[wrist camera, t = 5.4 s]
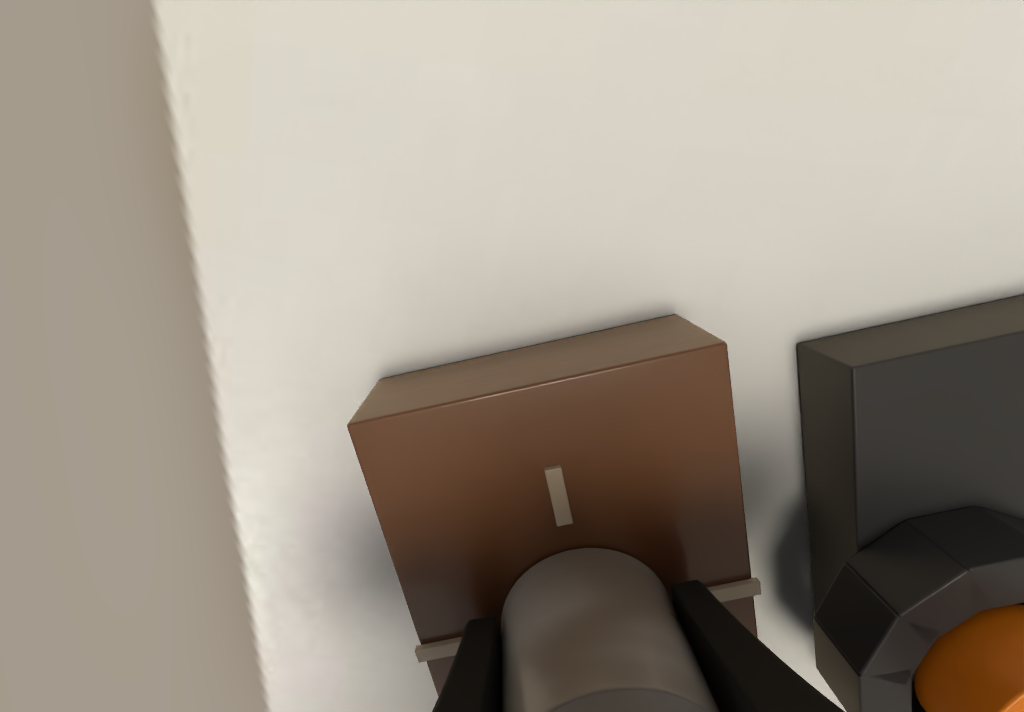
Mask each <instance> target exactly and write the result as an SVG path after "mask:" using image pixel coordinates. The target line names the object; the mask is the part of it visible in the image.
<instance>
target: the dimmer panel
mask: <svg viewBox="0 0 1024 712" xmlns="http://www.w3.org/2000/svg"><path fill="white" fill-rule="evenodd" d="M347 427H348V430H349V433H350V436H351V439H352V442H353V445H354V448H355V451H356V454H357V457H358V460H359V463H360V466H361V469H362V472H363V475H364V478H365V481H366V484H367V486H368V489H369V492H370V495H371V498H372V501H373V504H374V507H375V510H376V513H377V516H378V519H379V522H380V525H381V528H382V531H383V534H384V537H385V540H386V543H387V546H388V549H389V552H390V555H391V557H392V560H393V563H394V566H395V569H396V572H397V575H398V578H399V581H400V584H401V587H402V590H403V593H404V596H405V599H406V602H407V605H408V608H409V611H410V614H411V617H412V620H413V623H414V626H415V628H416V631H417V634H418V637H419V640H420V643H421V645H418V646H416V648H415V653H416V656H417V658H418V661H419V662H424V661H427V664H428V667H429V670H430V673H431V676H432V679H433V682H434V685H435V688H436V691H437V694H438V697H439V695H440V693H441V690H442V688H443V686H444V683H445V681H446V679H447V676H448V674H449V671H450V669H451V666H452V663H453V661H454V658H455V655H456V653H457V650H458V647H459V644H460V641H461V638H462V636H463V632H464V629H465V626H466V624H467V623H468V621H469V620H472V619H478V618H484V617H489V616H495V615H496V619H497V623H498V627H499V632H500V636H501V616H502V611H503V606H504V604H505V601H506V598H507V596H508V594H509V592H510V590H511V589H512V587H513V586H514V584H515V583H516V582H517V580H518V579H519V578H520V577H521V576H522V575H523V574H524V573H525V572H526V571H528V570H529V569H530V568H531V567H532V566H534V565H535V564H537V563H539V562H540V561H542V560H544V559H546V558H548V557H550V556H552V555H555V554H558V553H561V552H564V551H568V550H573V549H580V548H603V549H610V550H614V551H618V552H621V553H624V554H627V555H629V556H631V557H633V558H635V559H637V560H639V561H640V562H642V563H643V564H645V565H646V566H647V567H649V568H650V569H651V570H652V571H653V572H654V573H655V574H656V575H657V577H658V578H659V579H660V580H661V582H662V584H663V585H664V587H665V589H666V591H667V593H668V596H669V598H670V600H671V602H672V605H673V600H672V592H671V584H675V583H680V582H686V581H691V580H699V581H700V582H702V583H703V584H704V585H705V586H706V587H707V589H708V590H709V591H710V592H711V593H712V594H713V595H714V596H715V597H716V598H717V599H718V600H719V601H720V602H721V603H722V604H723V605H724V606H725V607H726V608H727V609H728V610H729V611H730V612H731V613H732V614H733V615H734V616H735V617H736V618H737V619H738V620H739V621H740V622H741V623H742V624H743V625H744V626H745V627H746V628H747V629H748V630H749V631H750V632H751V633H752V634H753V635H754V636H755V637H756V638H758V637H757V628H756V618H755V609H754V599H753V596H755V595H760V594H761V589H760V582H759V580H758V579H757V578H752V579H751V571H750V561H749V552H748V542H747V532H746V523H745V513H744V504H743V494H742V485H741V475H740V466H739V456H738V447H737V437H736V428H735V418H734V409H733V399H732V389H731V380H730V370H729V361H728V351H727V344H726V342H724V341H722V340H721V339H719V338H717V337H715V336H714V335H712V334H710V333H708V332H707V331H705V330H703V329H701V328H700V327H698V326H696V325H694V324H693V323H691V322H689V321H687V320H686V319H684V318H682V317H680V316H679V315H671V316H666V317H662V318H657V319H653V320H648V321H644V322H639V323H634V324H630V325H625V326H621V327H616V328H612V329H607V330H603V331H598V332H594V333H589V334H584V335H580V336H575V337H571V338H566V339H562V340H557V341H553V342H548V343H543V344H539V345H534V346H530V347H525V348H521V349H516V350H512V351H507V352H502V353H498V354H493V355H489V356H484V357H480V358H475V359H471V360H466V361H462V362H457V363H452V364H448V365H443V366H439V367H434V368H430V369H425V370H421V371H416V372H411V373H407V374H402V375H398V376H393V377H389V378H384V379H380V380H379V381H378V382H377V384H376V385H375V386H374V388H373V389H372V391H371V392H370V393H369V395H368V396H367V398H366V399H365V400H364V402H363V403H362V405H361V406H360V407H359V409H358V410H357V412H356V413H355V415H354V416H353V417H352V419H351V420H350V422H349V423H348V425H347Z"/></svg>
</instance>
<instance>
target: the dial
mask: <svg viewBox="0 0 1024 712" xmlns="http://www.w3.org/2000/svg"><path fill="white" fill-rule="evenodd" d="M501 654H502V712H720V710H719V708H718V706H717V703H716V701H715V699H714V697H713V694H712V692H711V690H710V688H709V685H708V683H707V681H706V679H705V677H704V674H703V672H702V670H701V668H700V665H699V663H698V661H697V659H696V656H695V654H694V652H693V650H692V647H691V645H690V643H689V641H688V638H687V636H686V634H685V632H684V629H683V627H682V625H681V623H680V620H679V618H678V616H677V614H676V611H675V609H674V607H673V605H672V602H671V600H670V598H669V596H668V593H667V591H666V589H665V587H664V585H663V584H662V582H661V580H660V579H659V578H658V577H657V575H656V574H655V573H654V572H653V571H652V570H651V569H650V568H649V567H647V566H646V565H645V564H643V563H642V562H640V561H639V560H637V559H635V558H633V557H631V556H629V555H627V554H624V553H621V552H618V551H614V550H610V549H603V548H580V549H573V550H568V551H564V552H561V553H558V554H555V555H552V556H550V557H548V558H546V559H544V560H542V561H540V562H539V563H537V564H535V565H534V566H532V567H531V568H530V569H529V570H528V571H526V572H525V573H524V574H523V575H522V576H521V577H520V578H519V579H518V580H517V582H516V583H515V584H514V586H513V587H512V589H511V590H510V592H509V594H508V596H507V598H506V601H505V604H504V606H503V611H502V616H501Z"/></svg>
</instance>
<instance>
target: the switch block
mask: <svg viewBox="0 0 1024 712" xmlns="http://www.w3.org/2000/svg"><path fill="white" fill-rule="evenodd" d="M798 361H799V377H800V392H801V408H802V423H803V439H804V455H805V470H806V486H807V501H808V517H809V532H810V548H811V563H812V579H813V594H814V610H815V616H814V617H813V624H814V639H815V654H816V667H817V669H818V670H819V672H820V674H821V675H822V677H823V678H824V680H825V681H826V682H827V684H828V685H829V687H830V688H831V690H832V691H833V693H834V694H835V695H836V697H837V698H838V700H839V701H840V703H841V704H842V705H843V707H844V708H845V710H846V711H847V712H926V711H925V710H924V708H923V707H922V706H921V704H920V702H919V700H918V698H917V696H916V692H915V688H914V675H915V670H916V669H917V667H918V666H919V664H920V663H921V661H922V660H923V658H924V657H925V655H926V654H927V652H928V651H929V649H930V648H931V646H932V645H933V643H934V642H935V640H936V639H937V638H939V637H940V636H942V635H944V634H945V633H947V632H948V631H950V630H951V629H953V628H954V627H956V626H958V625H959V624H961V623H962V622H964V621H965V620H967V619H969V618H970V617H972V616H973V615H975V614H976V613H978V612H979V611H982V610H987V609H993V608H998V607H1003V606H1008V605H1013V604H1022V605H1024V295H1022V296H1017V297H1013V298H1008V299H1003V300H999V301H994V302H989V303H985V304H980V305H976V306H971V307H966V308H962V309H957V310H952V311H948V312H943V313H939V314H934V315H929V316H925V317H920V318H915V319H911V320H906V321H901V322H897V323H892V324H888V325H883V326H878V327H874V328H869V329H864V330H860V331H855V332H851V333H846V334H841V335H837V336H832V337H827V338H823V339H818V340H813V341H809V342H804V343H800V344H798Z"/></svg>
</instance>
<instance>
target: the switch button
mask: <svg viewBox="0 0 1024 712" xmlns="http://www.w3.org/2000/svg"><path fill="white" fill-rule="evenodd" d="M914 688H915V692H916V696H917V698H918V700H919V702H920V704H921V706H922V707H923V708H924V710H925V711H926V712H1024V605H1022V604H1013V605H1008V606H1003V607H998V608H993V609H987V610H982V611H979V612H978V613H976V614H975V615H973V616H972V617H970V618H969V619H967V620H965V621H964V622H962V623H961V624H959V625H958V626H956V627H954V628H953V629H951V630H950V631H948V632H947V633H945V634H944V635H942V636H940V637H939V638H937V639H936V640H935V642H934V643H933V645H932V646H931V648H930V649H929V651H928V652H927V654H926V655H925V657H924V658H923V660H922V661H921V663H920V664H919V666H918V667H917V669H916V670H915V675H914Z"/></svg>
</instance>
